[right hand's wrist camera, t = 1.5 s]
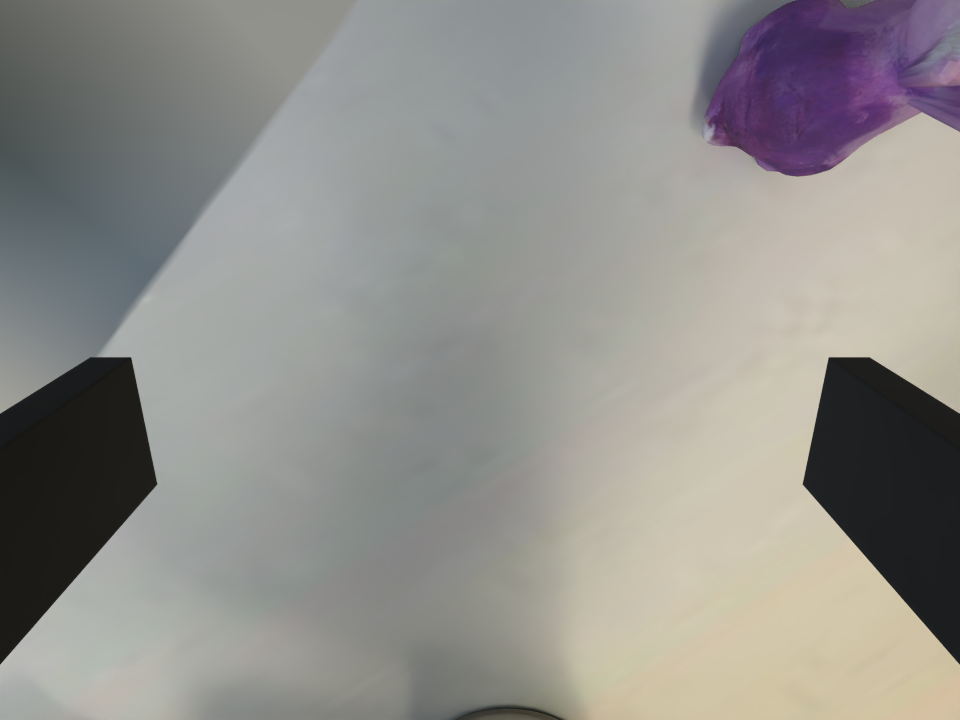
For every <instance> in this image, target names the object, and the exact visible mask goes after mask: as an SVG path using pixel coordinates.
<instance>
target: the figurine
mask: <svg viewBox="0 0 960 720" xmlns="http://www.w3.org/2000/svg"><path fill="white" fill-rule="evenodd" d="M921 112H923V113H925V114H927V115H929V116H931V117H933V118H935V119H937V120H939V121H940V122H942V123H944V124H946V125H948V126H950V127H952V128H954V129H956V130H957V131H959V132H960V0H876V1H874V2H871V3H868V4H866V5H863V6H860V7H858V8H846V7H845V6H844V5H843V4H842V3H841V2H840V0H796V1H793V2H790V3H788V4H785V5H784V6H782V7H780V8H778V9H777V10H775V11H773V12H772V13H770V14H768V15H767V16H766V17H765V18H764V19H762V20H761V21H759V22H758V23H756V24H755V25H754V26H752V27H751V28H750V29H749V30H748V31H747V32H746V34H745V35H744V37H743V39H742V43H741V46H740V50H739V55H738V56H737V58H736V59H735V60H734V62H733V63H732V64H731V66H730V67H729V69H728V70H727V72H726V73H725V74H724V76H723V78H722V80H721V81H720V84H719V86H718V88H717V90H716V92H715V94H714V96H713V98H712V100H711V103H710V105H709V107H708V109H707V111H706V114H705V118H704V121H703V128H702V134H703V139H704V140H705V141H706V142H707V143H709V144H711V145H716V146H735V147H738V148H740V149H741V150H743V151H745V152H746V153H747V154H749V155H751V156H753V157H755V160H756V162H757V163H758V165H759V166H761V167H762V168H764V169H765V170H767V171H777V172H781V173H782V174H785V175H790V176H808V175H813V174H817V173H820V172H824V171H827V170H830V169H832V168H833V167H835V166H836V165H838V164H839V163H840V162H842V161H843V160H844V159H846V158H847V157H848V156H849V155H851V154H852V153H853V152H854V151H855V150H857V149H858V148H859V147H860V146H862V145H863V144H865V143H866V142H868V141H869V140H871V139H872V138H874V137H876V136H877V135H879V134H881V133H883V132H885V131H887V130H889V129H890V128H892V127H894V126H896V125H898V124H900V123H902V122H904V121H906V120H908V119H910V118H911V117H913V116H915V115H917V114H919V113H921Z"/></svg>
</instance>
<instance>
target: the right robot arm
mask: <svg viewBox="0 0 960 720" xmlns="http://www.w3.org/2000/svg"><path fill="white" fill-rule="evenodd" d="M156 485H157V481H156V476H155V471H154V466H153V461H152V457H151V452H150V447H149V442H148V437H147V432H146V427H145V422H144V418H143V413H142V408H141V403H140V398H139V393H138V388H137V383H136V379H135V374H134V369H133V364H132V359H131V357H91V358H89V359H87V360H86V361H84V362H83V363H81V364H79V365H78V366H76V367H74V368H73V369H71V370H70V371H68V372H66V373H65V374H63V375H62V376H60V377H58V378H57V379H55V380H54V381H52V382H50V383H49V384H47V385H46V386H44V387H42V388H41V389H39V390H38V391H36V392H34V393H33V394H31V395H30V396H28V397H26V398H25V399H23V400H22V401H20V402H18V403H17V404H15V405H14V406H12V407H10V408H9V409H7V410H6V411H4V412H2V413H1V414H0V664H1V663H2V662H3V661H4V660H5V658H6V657H7V656H8V655H9V654H10V653H11V652H12V650H13V649H14V648H15V647H16V646H17V645H18V644H19V642H20V641H21V640H22V639H23V638H24V637H25V635H26V634H27V633H28V632H29V631H30V630H31V629H32V627H33V626H34V625H35V624H36V623H37V622H38V621H39V619H40V618H41V617H42V616H43V615H44V614H45V613H46V611H47V610H48V609H49V608H50V607H51V606H52V605H53V603H54V602H55V601H56V600H57V599H58V598H59V596H60V595H61V594H62V593H63V592H64V591H65V590H66V588H67V587H68V586H69V585H70V584H71V583H72V582H73V580H74V579H75V578H76V577H77V576H78V575H79V574H80V572H81V571H82V570H83V569H84V568H85V567H86V566H87V564H88V563H89V562H90V561H91V560H92V559H93V557H94V556H95V555H96V554H97V553H98V552H99V551H100V549H101V548H102V547H103V546H104V545H105V544H106V543H107V541H108V540H109V539H110V538H111V537H112V536H113V535H114V533H115V532H116V531H117V530H118V529H119V528H120V526H121V525H122V524H123V523H124V522H125V521H126V520H127V518H128V517H129V516H130V515H131V514H132V513H133V512H134V510H135V509H136V508H137V507H138V506H139V505H140V504H141V502H142V501H143V500H144V499H145V498H146V497H147V496H148V494H149V493H150V492H151V491H152V490H153V489H154V487H155V486H156ZM803 485H804V486H805V487H806V489H807V490H808V491H809V492H810V493H811V494H812V496H813V497H814V498H815V499H816V500H817V501H818V502H819V504H820V505H821V506H822V507H823V508H824V509H825V510H826V512H827V513H828V514H829V515H830V516H831V517H832V518H833V520H834V521H835V522H836V523H837V524H838V525H839V526H840V528H841V529H842V530H843V531H844V532H845V533H846V535H847V536H848V537H849V538H850V539H851V540H852V541H853V543H854V544H855V545H856V546H857V547H858V548H859V549H860V551H861V552H862V553H863V554H864V555H865V556H866V557H867V559H868V560H869V561H870V562H871V563H872V564H873V566H874V567H875V568H876V569H877V570H878V571H879V572H880V574H881V575H882V576H883V577H884V578H885V579H886V580H887V582H888V583H889V584H890V585H891V586H892V587H893V588H894V590H895V591H896V592H897V593H898V594H899V595H900V596H901V598H902V599H903V600H904V601H905V602H906V603H907V605H908V606H909V607H910V608H911V609H912V610H913V611H914V613H915V614H916V615H917V616H918V617H919V618H920V619H921V621H922V622H923V623H924V624H925V625H926V626H927V627H928V629H929V630H930V631H931V632H932V633H933V634H934V635H935V637H936V638H937V639H938V640H939V641H940V642H941V644H942V645H943V646H944V647H945V648H946V649H947V650H948V652H949V653H950V654H951V655H952V656H953V657H954V658H955V660H956V661H957V662H958V663H959V664H960V414H959V413H958V412H956V411H954V410H953V409H951V408H950V407H948V406H946V405H945V404H943V403H942V402H940V401H938V400H937V399H935V398H934V397H932V396H930V395H929V394H927V393H926V392H924V391H922V390H921V389H919V388H918V387H916V386H914V385H913V384H911V383H910V382H908V381H906V380H905V379H903V378H902V377H900V376H898V375H897V374H895V373H894V372H892V371H890V370H889V369H887V368H886V367H884V366H882V365H881V364H879V363H878V362H876V361H874V360H873V359H871V358H870V357H829V359H828V364H827V369H826V374H825V379H824V383H823V388H822V393H821V398H820V403H819V408H818V413H817V418H816V422H815V427H814V432H813V437H812V442H811V447H810V452H809V457H808V461H807V466H806V471H805V476H804V481H803ZM456 720H558V719H556V718H554V717H551V716H549V715H546V714H543V713H539V712H535V711H530V710H523V709H508V708H507V709H492V710H485V711H480V712H476V713H472V714H469V715H466V716H463V717H461V718H459V719H456Z"/></svg>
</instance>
